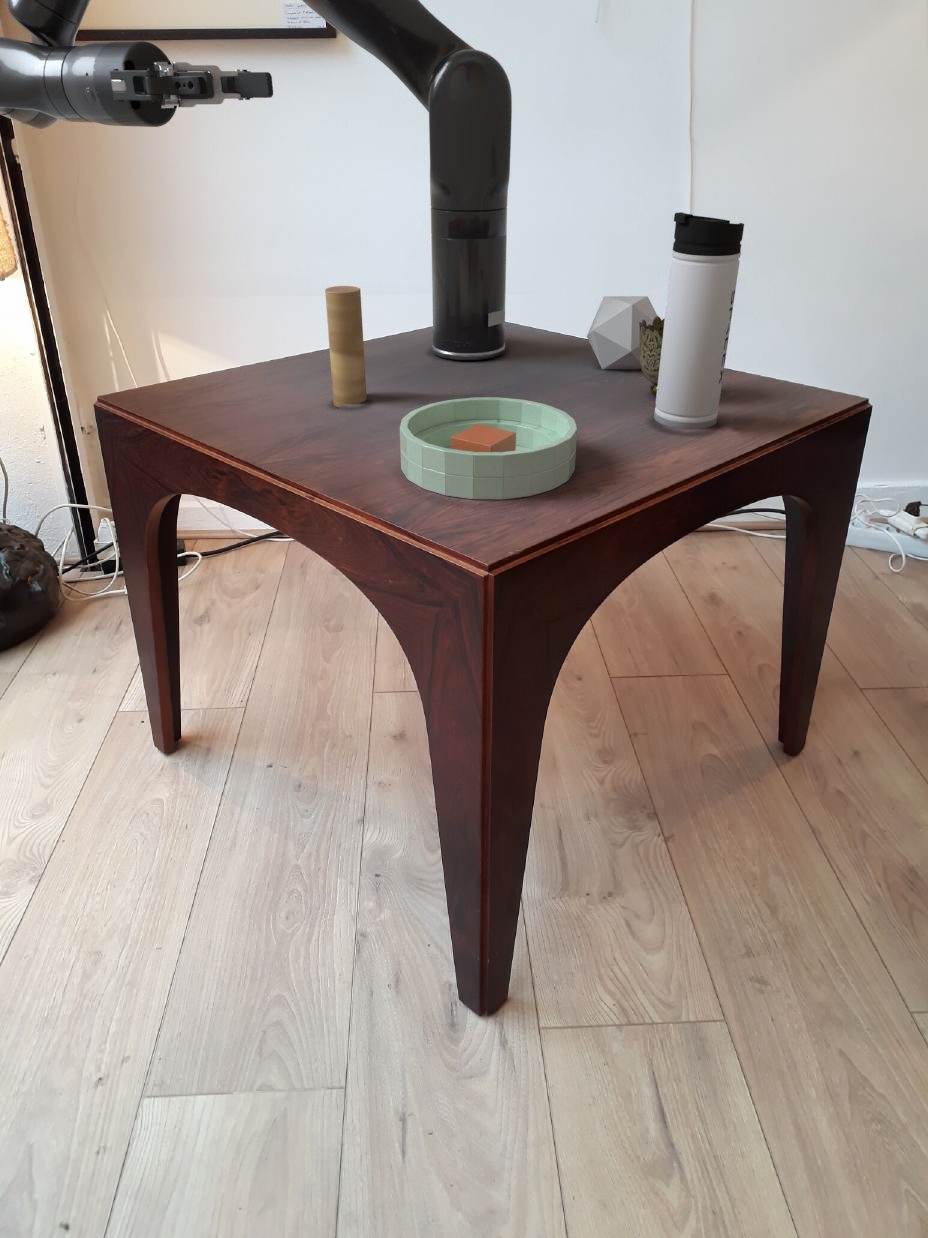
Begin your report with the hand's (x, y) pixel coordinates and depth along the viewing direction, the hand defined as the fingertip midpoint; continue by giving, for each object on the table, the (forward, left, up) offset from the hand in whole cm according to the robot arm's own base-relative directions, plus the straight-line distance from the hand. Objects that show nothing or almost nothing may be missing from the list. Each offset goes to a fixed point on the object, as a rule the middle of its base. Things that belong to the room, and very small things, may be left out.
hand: (241, 84), depth 87 cm
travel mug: (-4, +45, -30) cm, 54 cm away
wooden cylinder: (+1, +10, -30) cm, 32 cm away
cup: (-13, +42, -30) cm, 53 cm away
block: (+18, +31, -29) cm, 46 cm away
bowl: (+15, +30, -30) cm, 45 cm away
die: (-24, +35, -30) cm, 52 cm away
